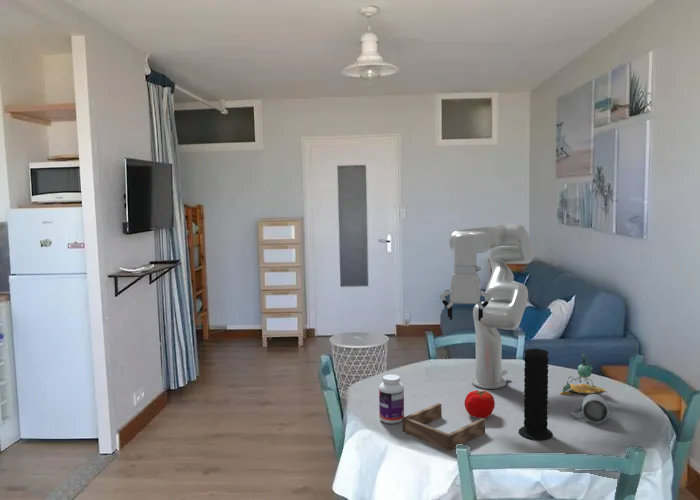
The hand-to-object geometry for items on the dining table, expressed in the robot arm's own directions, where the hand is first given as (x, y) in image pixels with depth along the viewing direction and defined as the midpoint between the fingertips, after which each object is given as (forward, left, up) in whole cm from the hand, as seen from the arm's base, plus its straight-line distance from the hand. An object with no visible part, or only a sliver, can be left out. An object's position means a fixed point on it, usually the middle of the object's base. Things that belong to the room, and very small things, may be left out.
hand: (465, 319), depth 197 cm
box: (+23, +10, -30) cm, 39 cm away
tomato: (+5, +10, -30) cm, 32 cm away
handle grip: (+4, +30, -30) cm, 42 cm away
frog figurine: (-39, +22, -30) cm, 54 cm away
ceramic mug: (-18, +36, -30) cm, 50 cm away
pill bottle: (+28, -8, -30) cm, 42 cm away
